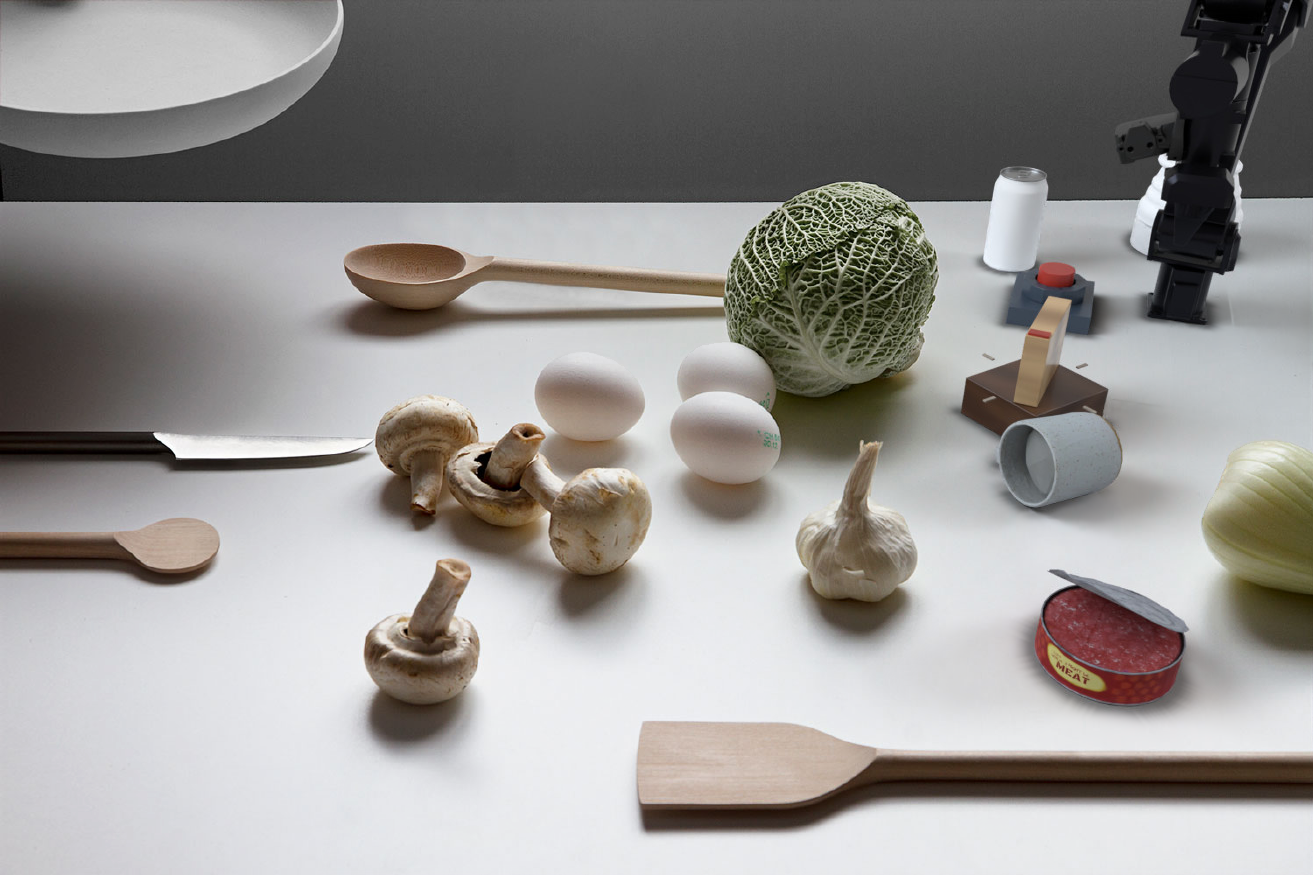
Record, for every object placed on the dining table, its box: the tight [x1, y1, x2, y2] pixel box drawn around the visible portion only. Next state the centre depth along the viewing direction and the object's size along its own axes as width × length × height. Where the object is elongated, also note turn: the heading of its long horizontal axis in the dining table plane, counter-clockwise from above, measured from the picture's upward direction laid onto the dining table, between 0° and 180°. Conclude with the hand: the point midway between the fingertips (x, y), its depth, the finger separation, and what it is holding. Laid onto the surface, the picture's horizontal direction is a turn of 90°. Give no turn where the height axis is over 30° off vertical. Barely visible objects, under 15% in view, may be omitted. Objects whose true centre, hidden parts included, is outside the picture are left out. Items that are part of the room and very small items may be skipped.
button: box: [1037, 261, 1077, 288], centre depth 132 cm, size 4×4×2 cm
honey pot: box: [1129, 153, 1244, 256], centre depth 146 cm, size 13×13×18 cm
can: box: [983, 166, 1049, 274], centre depth 143 cm, size 6×6×12 cm
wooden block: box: [960, 352, 1109, 437], centre depth 111 cm, size 14×14×4 cm
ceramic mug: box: [994, 412, 1124, 508], centre depth 100 cm, size 11×8×8 cm
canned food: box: [1033, 568, 1190, 707], centre depth 81 cm, size 11×10×10 cm
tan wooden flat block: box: [1014, 296, 1072, 407], centre depth 108 cm, size 10×2×7 cm, turn 152°
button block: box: [1005, 268, 1096, 336], centre depth 133 cm, size 11×9×4 cm
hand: (1179, 244), depth 119 cm, fingers closed
